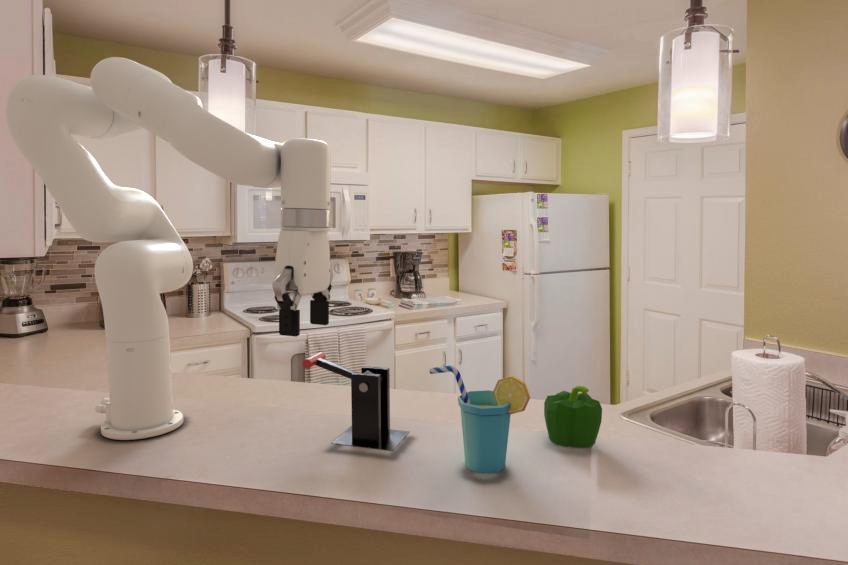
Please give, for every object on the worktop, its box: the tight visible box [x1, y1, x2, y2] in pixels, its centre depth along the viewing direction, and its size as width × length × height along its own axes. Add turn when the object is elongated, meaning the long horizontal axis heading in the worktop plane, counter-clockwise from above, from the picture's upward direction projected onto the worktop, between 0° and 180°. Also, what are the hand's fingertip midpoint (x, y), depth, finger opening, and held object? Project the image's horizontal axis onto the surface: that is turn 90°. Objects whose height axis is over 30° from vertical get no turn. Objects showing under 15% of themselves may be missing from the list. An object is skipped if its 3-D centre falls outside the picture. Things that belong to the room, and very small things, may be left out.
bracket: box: [331, 365, 410, 452], centre depth 89 cm, size 10×8×12 cm
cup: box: [428, 364, 531, 475], centre depth 79 cm, size 14×8×15 cm, turn 76°
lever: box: [301, 351, 383, 387], centre depth 90 cm, size 12×5×2 cm, turn 75°
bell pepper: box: [543, 385, 603, 449], centre depth 88 cm, size 8×8×10 cm
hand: (305, 329), depth 91 cm, fingers open, 9 cm apart
